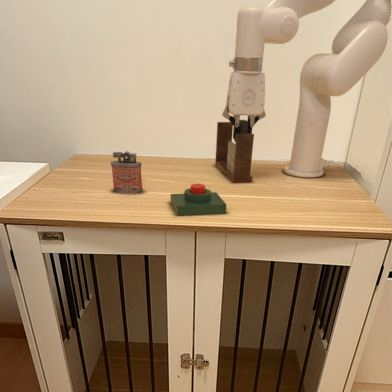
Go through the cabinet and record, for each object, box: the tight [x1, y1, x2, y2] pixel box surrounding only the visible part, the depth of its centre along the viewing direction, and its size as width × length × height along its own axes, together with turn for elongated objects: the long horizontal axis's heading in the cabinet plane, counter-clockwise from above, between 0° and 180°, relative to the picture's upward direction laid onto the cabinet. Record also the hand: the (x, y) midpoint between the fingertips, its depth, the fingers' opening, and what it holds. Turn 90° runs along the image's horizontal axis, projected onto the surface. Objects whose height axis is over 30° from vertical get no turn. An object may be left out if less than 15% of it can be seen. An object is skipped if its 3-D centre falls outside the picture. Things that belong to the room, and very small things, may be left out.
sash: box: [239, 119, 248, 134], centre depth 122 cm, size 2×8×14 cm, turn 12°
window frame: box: [214, 121, 255, 184], centre depth 127 cm, size 6×22×13 cm, turn 12°
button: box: [190, 183, 206, 194], centre depth 100 cm, size 4×4×2 cm
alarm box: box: [170, 187, 227, 217], centre depth 101 cm, size 12×10×4 cm
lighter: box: [110, 150, 144, 194], centre depth 109 cm, size 8×3×10 cm, turn 88°
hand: (241, 141), depth 121 cm, fingers closed
